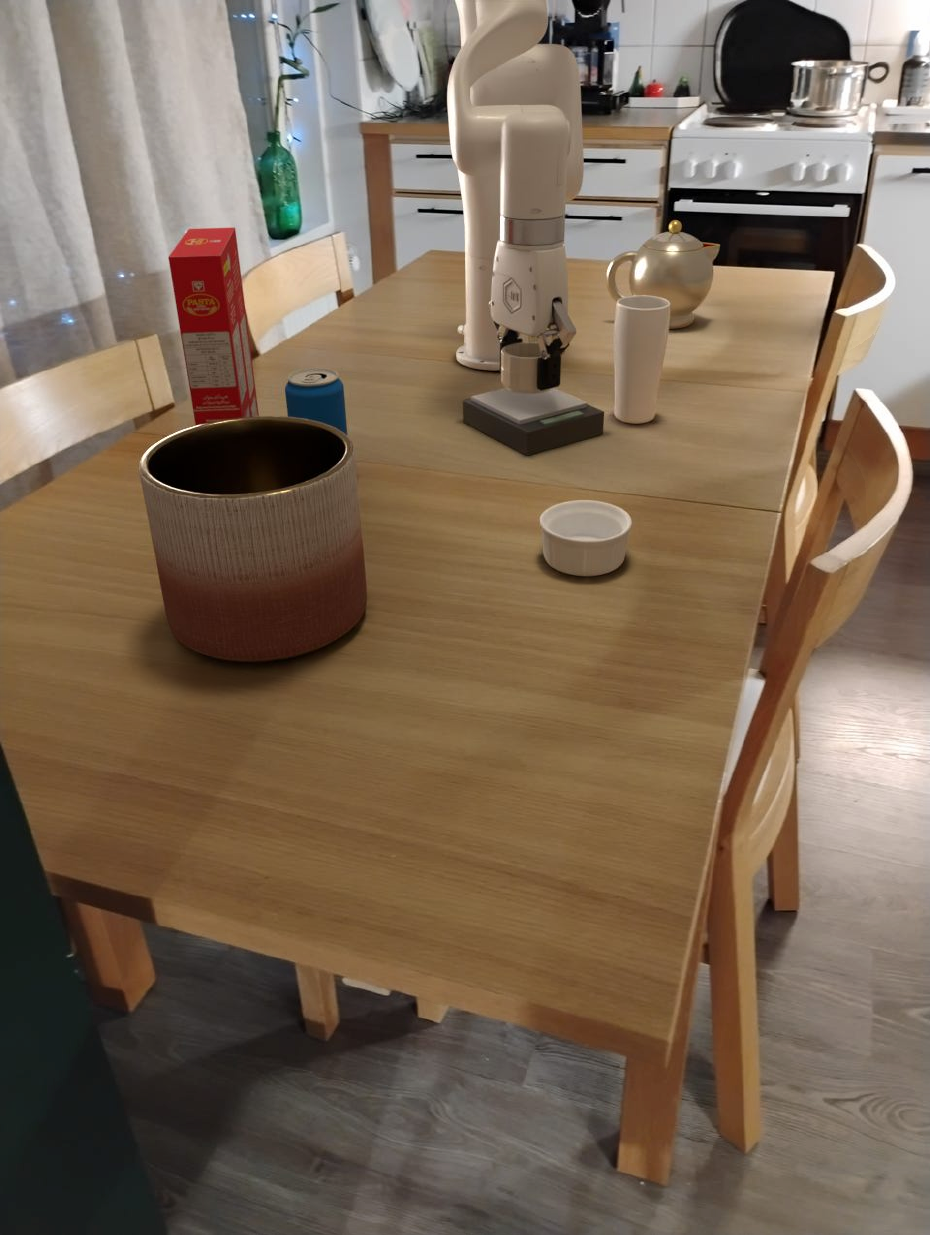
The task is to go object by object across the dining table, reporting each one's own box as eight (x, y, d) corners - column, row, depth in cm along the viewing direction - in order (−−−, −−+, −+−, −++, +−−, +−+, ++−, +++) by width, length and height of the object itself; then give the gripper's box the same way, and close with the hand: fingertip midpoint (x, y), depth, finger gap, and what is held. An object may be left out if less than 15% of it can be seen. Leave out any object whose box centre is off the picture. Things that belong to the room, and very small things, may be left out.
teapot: (704, 312, 174) (715, 211, 166) (717, 334, 163) (730, 228, 154) (600, 312, 175) (606, 212, 167) (606, 334, 164) (612, 229, 155)
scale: (463, 421, 131) (462, 395, 129) (536, 403, 137) (536, 377, 135) (527, 455, 121) (527, 427, 120) (603, 434, 127) (604, 407, 125)
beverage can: (359, 468, 119) (352, 369, 112) (336, 490, 114) (326, 388, 107) (310, 462, 121) (300, 364, 114) (284, 483, 115) (272, 382, 109)
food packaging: (219, 434, 129) (188, 228, 116) (260, 432, 129) (235, 227, 116) (204, 481, 116) (168, 257, 103) (250, 478, 117) (220, 255, 104)
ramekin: (605, 589, 94) (607, 548, 92) (522, 566, 98) (523, 526, 96) (643, 551, 100) (646, 511, 98) (564, 530, 104) (565, 492, 102)
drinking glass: (659, 428, 128) (670, 310, 120) (606, 425, 129) (613, 308, 122) (661, 410, 134) (672, 296, 126) (610, 407, 135) (617, 294, 127)
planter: (387, 650, 86) (376, 481, 77) (174, 687, 82) (138, 512, 73) (348, 556, 100) (335, 404, 92) (165, 583, 96) (134, 427, 88)
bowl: (490, 384, 128) (490, 348, 125) (534, 373, 131) (535, 338, 129) (523, 399, 123) (524, 362, 120) (568, 388, 126) (569, 351, 124)
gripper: (464, 223, 122) (466, 368, 131) (552, 247, 109) (548, 404, 118) (514, 216, 125) (512, 357, 134) (605, 239, 113) (597, 392, 122)
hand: (529, 378), depth 126 cm, fingers closed on bowl, 7 cm apart
